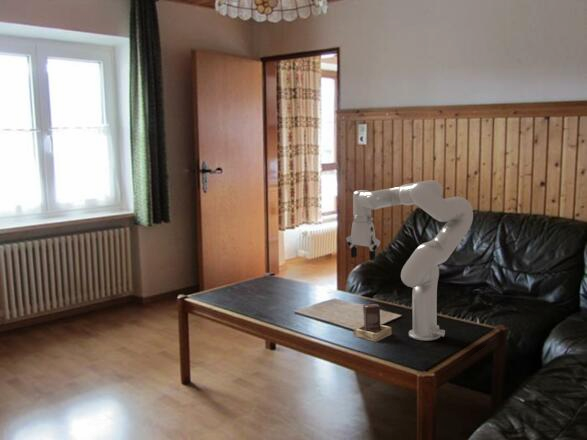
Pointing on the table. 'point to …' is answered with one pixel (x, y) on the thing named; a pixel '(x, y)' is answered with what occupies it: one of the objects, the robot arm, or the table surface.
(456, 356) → the table surface
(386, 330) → the housing
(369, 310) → the box
